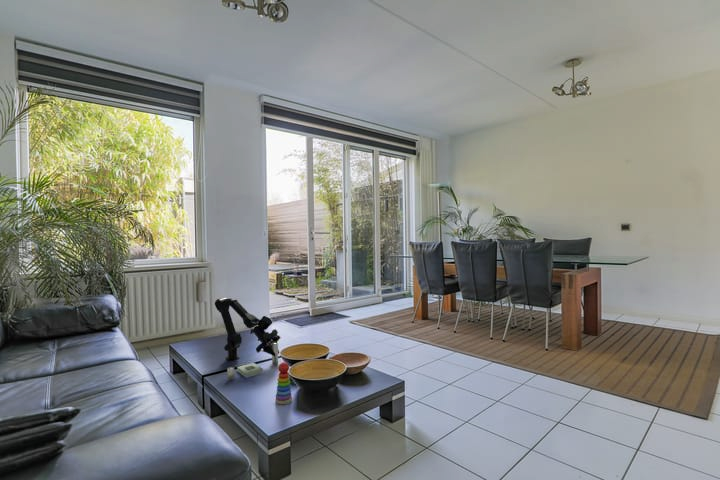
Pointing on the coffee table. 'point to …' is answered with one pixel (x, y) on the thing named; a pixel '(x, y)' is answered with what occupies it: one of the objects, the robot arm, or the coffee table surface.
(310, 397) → the coffee table surface
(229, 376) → the short pin
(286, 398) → the stacking toy
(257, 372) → the hole plate
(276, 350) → the tall pin
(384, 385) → the coffee table surface
